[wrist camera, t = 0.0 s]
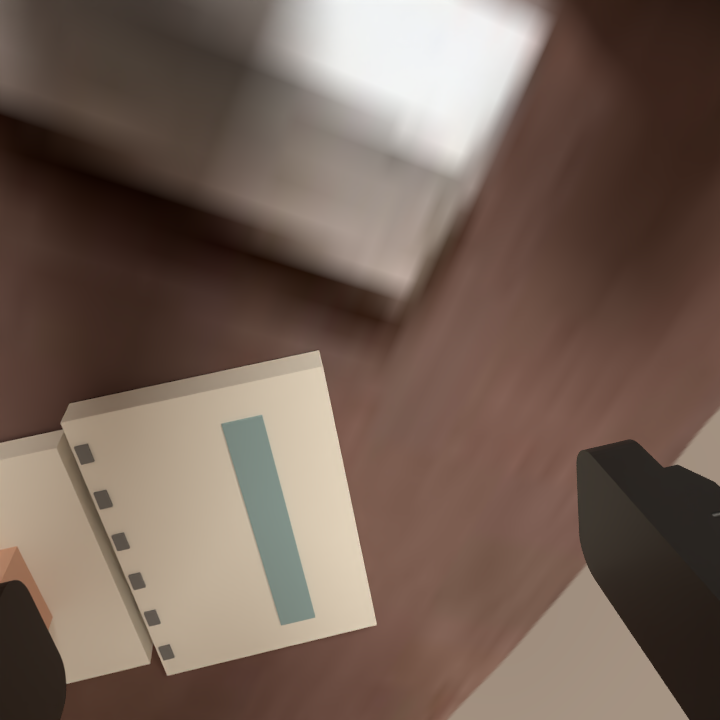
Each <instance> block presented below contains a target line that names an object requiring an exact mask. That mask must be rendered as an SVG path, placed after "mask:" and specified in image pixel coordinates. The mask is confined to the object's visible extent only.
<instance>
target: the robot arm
mask: <svg viewBox="0 0 720 720" xmlns="http://www.w3.org/2000/svg"><path fill="white" fill-rule="evenodd" d="M577 489H578V515H579V536H580V543H581V547H582V551H583V554H584V557H585V560H586V563H587V565H588V567H589V569H590V572H591V574H592V575H593V577H594V579H595V580H596V582H597V583H598V585H599V586H600V588H601V589H602V591H603V592H604V594H605V595H606V597H607V598H608V600H609V601H610V603H611V604H612V605H613V607H614V608H615V610H616V611H617V613H618V614H619V616H620V617H621V619H622V620H623V622H624V623H625V625H626V626H627V628H628V629H629V631H630V632H631V634H632V635H633V637H634V638H635V640H636V641H637V643H638V644H639V646H640V647H641V649H642V650H643V651H644V653H645V654H646V656H647V657H648V659H649V660H650V662H651V663H652V665H653V666H654V668H655V669H656V671H657V672H658V674H659V675H660V676H661V678H662V680H663V681H664V683H665V684H666V686H667V687H668V689H669V690H670V692H671V693H672V694H673V696H674V697H675V699H676V700H677V702H678V703H679V705H680V706H681V708H682V709H683V711H684V712H685V714H686V715H687V717H688V718H689V720H720V487H719V486H718V485H717V484H716V483H715V482H713V481H711V480H709V479H707V478H705V477H703V476H701V475H699V474H696V473H694V472H692V471H690V470H688V469H686V468H684V467H681V466H679V465H674V466H670V467H666V468H663V467H662V466H661V465H660V464H659V463H658V462H657V461H656V460H655V459H654V458H653V457H652V456H651V455H650V454H649V453H648V452H647V451H646V450H645V449H644V448H643V447H642V446H641V445H640V444H638V443H637V442H636V441H634V440H631V439H629V440H625V441H620V442H616V443H612V444H607V445H603V446H599V447H594V448H590V449H586V450H581V451H580V452H579V454H578V456H577ZM65 698H66V675H65V669H64V664H63V661H62V658H61V656H60V653H59V651H58V649H57V647H56V645H55V643H54V641H53V639H52V637H51V635H50V633H49V631H48V629H47V627H46V625H45V623H44V621H43V619H42V617H41V615H40V612H39V610H38V608H37V606H36V604H35V602H34V600H33V598H32V596H31V594H30V592H29V590H28V588H27V587H26V586H25V584H23V583H22V582H21V581H19V580H12V581H8V582H3V583H0V720H60V718H61V715H62V711H63V708H64V704H65Z"/></svg>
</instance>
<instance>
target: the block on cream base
mask: <svg viewBox="0 0 720 720" xmlns="http://www.w3.org/2000/svg"><path fill="white" fill-rule="evenodd" d="M12 580H19V581H21V582H22V583H23V584H25V586H26V587H27V588H28V590H29V592H30V594H31V596H32V598H33V600H34V602H35V604H36V606H37V608H38V610H39V612H40V615H41V617H42V619H43V621H44V623H45V625H46V627H47V629H48V631H49V633H50V635H51V637H52V639H53V641H54V643H55V645H56V647H57V649H58V651H59V653H60V656H61V658H62V661H63V664H64V669H65V675H66V684H69V683H73V682H77V681H81V680H85V679H89V678H93V677H98V676H102V675H106V674H110V673H114V672H118V671H122V670H127V669H131V668H135V667H139V666H143V665H147V664H150V662H151V655H152V649H153V641H152V638H151V636H150V634H149V631H148V629H147V627H146V624H145V622H144V620H143V617H142V615H141V612H140V610H139V608H138V605H137V603H136V601H135V598H134V596H133V594H132V591H131V589H130V586H129V584H128V582H127V579H126V577H125V575H124V572H123V570H122V568H121V565H120V563H119V560H118V558H117V556H116V553H115V551H114V549H113V546H112V544H111V542H110V539H109V537H108V535H107V532H106V530H105V527H104V525H103V523H102V520H101V518H100V516H99V513H98V511H97V509H96V506H95V504H94V501H93V499H92V497H91V494H90V492H89V490H88V487H87V485H86V483H85V480H84V478H83V475H82V473H81V471H80V468H79V466H78V464H77V461H76V459H75V457H74V454H73V452H72V450H71V447H70V445H69V442H68V440H67V438H66V435H65V433H64V431H63V429H62V430H58V431H53V432H48V433H44V434H39V435H35V436H30V437H25V438H21V439H16V440H11V441H7V442H2V443H0V583H3V582H8V581H12Z"/></svg>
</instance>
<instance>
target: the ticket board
mask: <svg viewBox="0 0 720 720" xmlns="http://www.w3.org/2000/svg"><path fill="white" fill-rule="evenodd" d="M60 424H61V426H62V428H63V431H64V433H65V435H66V438H67V440H68V442H69V445H70V447H71V450H72V452H73V454H74V457H75V459H76V461H77V464H78V466H79V468H80V471H81V473H82V475H83V478H84V480H85V483H86V485H87V487H88V490H89V492H90V494H91V497H92V499H93V501H94V504H95V506H96V509H97V511H98V513H99V516H100V518H101V520H102V523H103V525H104V527H105V530H106V532H107V535H108V537H109V539H110V542H111V544H112V546H113V549H114V551H115V553H116V556H117V558H118V560H119V563H120V565H121V568H122V570H123V572H124V575H125V577H126V579H127V582H128V584H129V586H130V589H131V591H132V594H133V596H134V598H135V601H136V603H137V605H138V608H139V610H140V612H141V615H142V617H143V620H144V622H145V624H146V627H147V629H148V631H149V634H150V636H151V638H152V641H153V643H154V646H155V648H156V650H157V653H158V655H159V657H160V660H161V662H162V664H163V667H164V669H165V671H166V674H167V676H169V675H173V674H177V673H181V672H185V671H189V670H193V669H198V668H202V667H206V666H210V665H214V664H218V663H222V662H226V661H230V660H235V659H239V658H243V657H247V656H251V655H255V654H259V653H263V652H267V651H272V650H276V649H280V648H284V647H288V646H292V645H296V644H300V643H304V642H309V641H313V640H317V639H321V638H325V637H329V636H333V635H337V634H341V633H346V632H350V631H354V630H358V629H362V628H366V627H370V626H374V625H377V623H376V619H375V614H374V609H373V604H372V599H371V595H370V590H369V585H368V580H367V575H366V571H365V566H364V561H363V556H362V552H361V547H360V542H359V537H358V532H357V528H356V523H355V518H354V513H353V508H352V504H351V499H350V494H349V489H348V484H347V480H346V475H345V470H344V465H343V460H342V456H341V451H340V446H339V441H338V437H337V432H336V427H335V422H334V417H333V413H332V408H331V403H330V398H329V393H328V389H327V384H326V379H325V374H324V369H323V365H322V361H321V357H320V353H319V350H318V351H313V352H309V353H304V354H299V355H294V356H290V357H285V358H280V359H276V360H271V361H266V362H262V363H257V364H252V365H248V366H243V367H238V368H234V369H229V370H224V371H220V372H215V373H210V374H206V375H201V376H196V377H191V378H187V379H182V380H177V381H173V382H168V383H163V384H159V385H154V386H149V387H145V388H140V389H135V390H131V391H126V392H121V393H117V394H112V395H107V396H102V397H98V398H93V399H88V400H84V401H79V402H74V403H70V404H69V406H68V408H67V410H66V412H65V414H64V416H63V418H62V420H61V422H60Z"/></svg>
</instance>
